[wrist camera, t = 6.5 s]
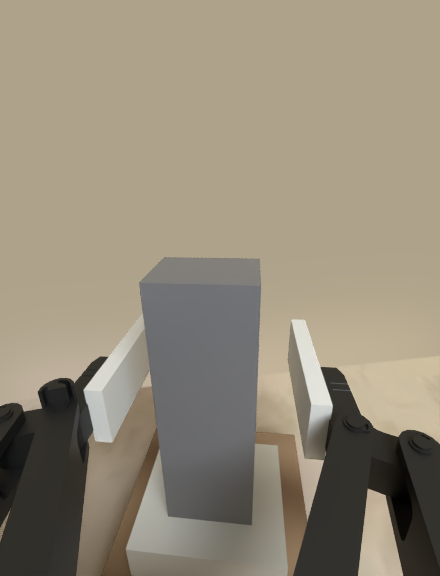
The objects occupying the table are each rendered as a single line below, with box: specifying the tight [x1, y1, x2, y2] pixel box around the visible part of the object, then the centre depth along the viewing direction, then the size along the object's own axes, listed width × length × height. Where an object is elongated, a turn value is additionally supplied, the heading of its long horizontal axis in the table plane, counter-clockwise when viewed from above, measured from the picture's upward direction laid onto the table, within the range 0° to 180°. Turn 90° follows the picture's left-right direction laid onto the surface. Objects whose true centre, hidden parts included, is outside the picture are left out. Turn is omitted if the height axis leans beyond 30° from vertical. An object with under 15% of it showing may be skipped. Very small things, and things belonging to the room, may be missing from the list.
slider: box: [126, 257, 288, 576], centre depth 14 cm, size 6×7×14 cm
